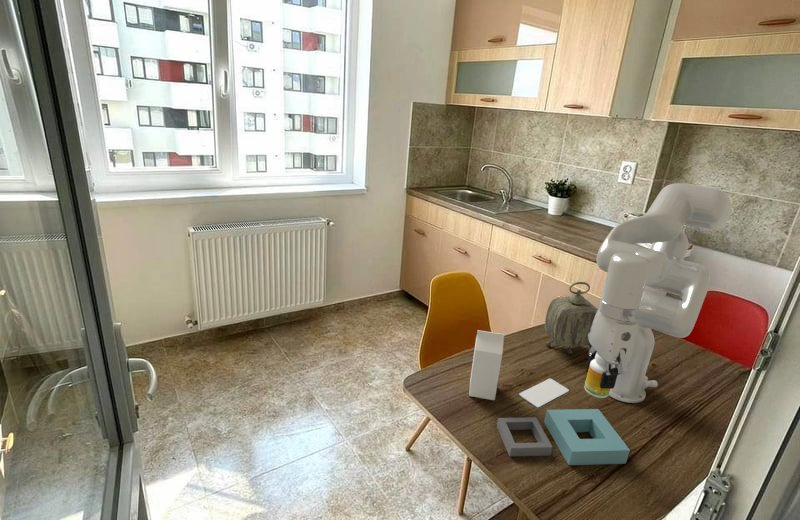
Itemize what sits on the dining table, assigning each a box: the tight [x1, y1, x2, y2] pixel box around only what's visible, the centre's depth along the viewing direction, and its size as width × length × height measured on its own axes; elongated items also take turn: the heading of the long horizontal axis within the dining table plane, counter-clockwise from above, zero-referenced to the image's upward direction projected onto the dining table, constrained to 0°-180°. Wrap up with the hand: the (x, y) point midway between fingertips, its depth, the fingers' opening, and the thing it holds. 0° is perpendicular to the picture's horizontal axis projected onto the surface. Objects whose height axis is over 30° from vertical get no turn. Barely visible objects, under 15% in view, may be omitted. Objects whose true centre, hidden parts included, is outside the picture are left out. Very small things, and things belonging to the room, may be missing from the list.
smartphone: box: [517, 377, 570, 409], centre depth 125 cm, size 7×1×15 cm
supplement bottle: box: [583, 352, 615, 399], centre depth 100 cm, size 5×5×10 cm
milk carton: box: [468, 329, 505, 401], centre depth 120 cm, size 7×7×19 cm
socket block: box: [543, 408, 631, 466], centre depth 106 cm, size 14×14×4 cm
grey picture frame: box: [496, 416, 553, 457], centre depth 106 cm, size 10×10×2 cm
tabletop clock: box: [544, 281, 598, 355], centre depth 142 cm, size 14×9×25 cm, turn 98°
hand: (599, 378), depth 101 cm, fingers closed on supplement bottle, 5 cm apart
